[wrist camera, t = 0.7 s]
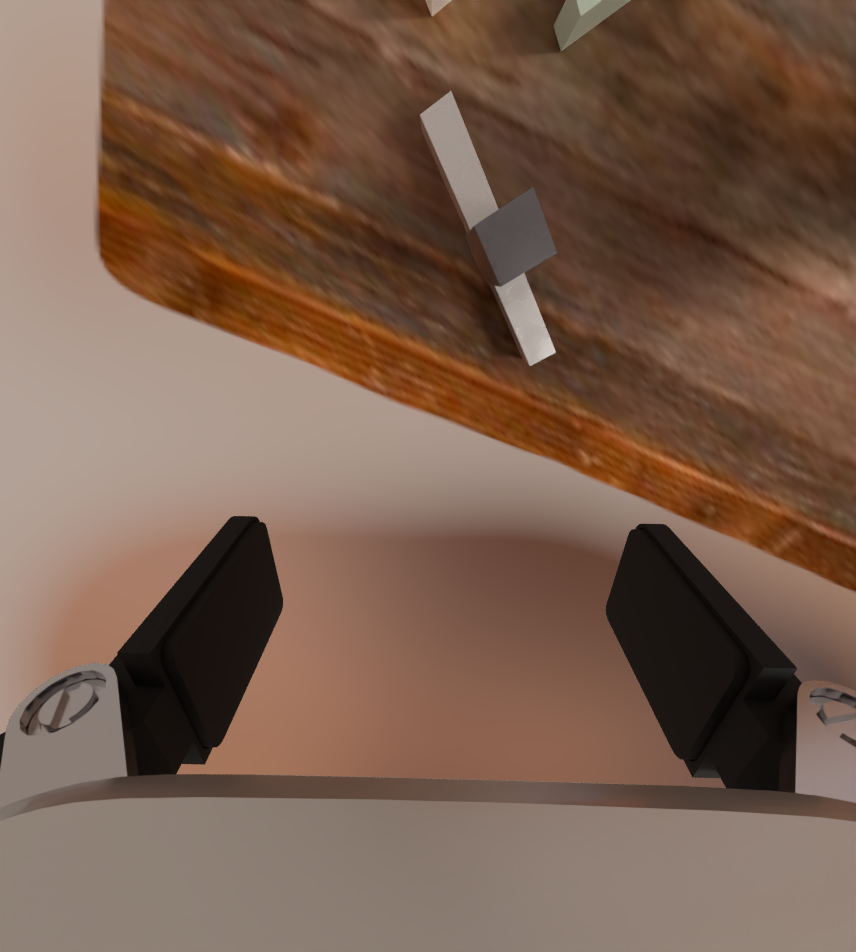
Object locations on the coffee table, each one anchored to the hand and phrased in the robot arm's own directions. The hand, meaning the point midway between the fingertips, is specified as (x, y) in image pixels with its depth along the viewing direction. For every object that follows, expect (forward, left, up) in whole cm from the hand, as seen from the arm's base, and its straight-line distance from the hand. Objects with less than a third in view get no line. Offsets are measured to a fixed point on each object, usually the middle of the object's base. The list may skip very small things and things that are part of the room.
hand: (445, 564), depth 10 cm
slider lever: (-7, -5, -24) cm, 25 cm away
